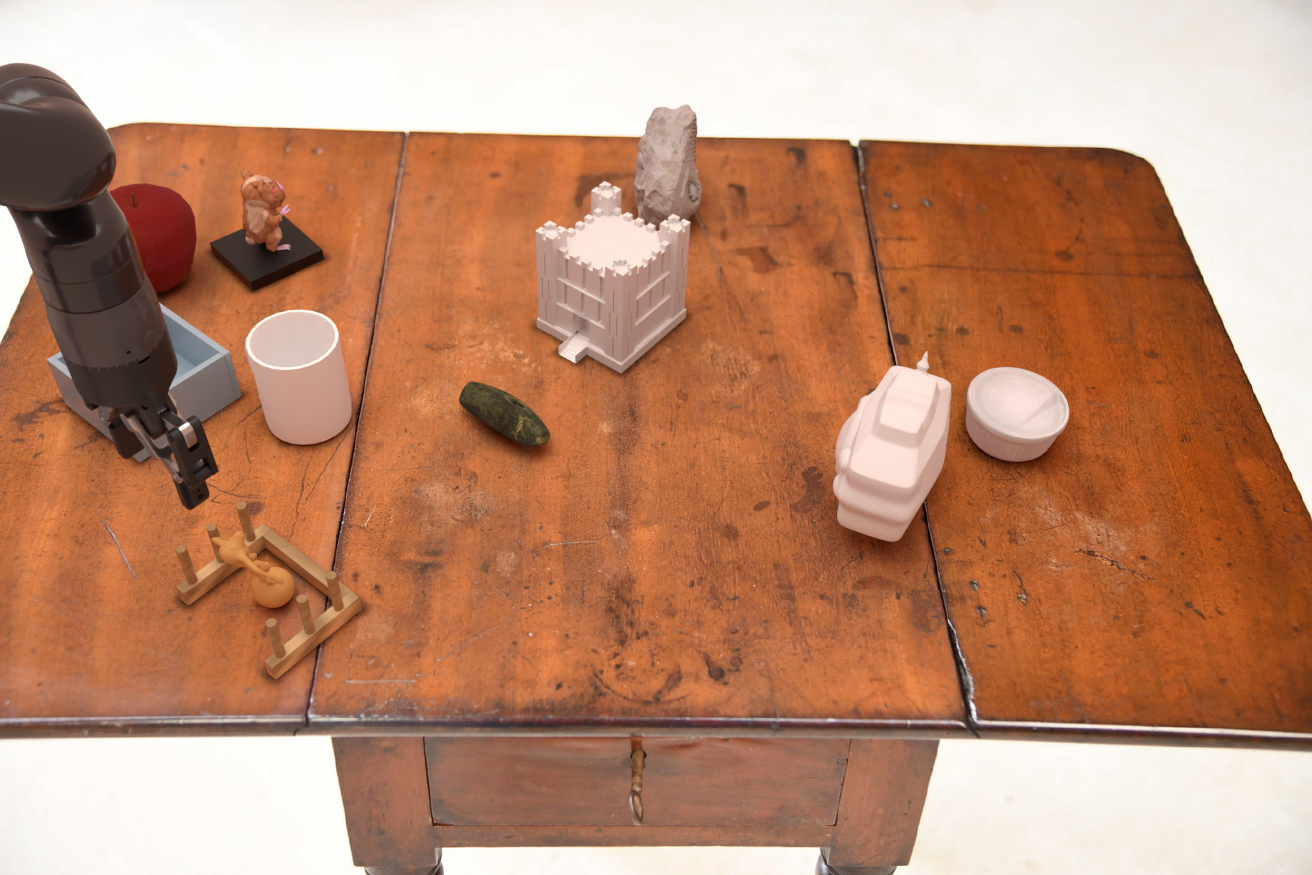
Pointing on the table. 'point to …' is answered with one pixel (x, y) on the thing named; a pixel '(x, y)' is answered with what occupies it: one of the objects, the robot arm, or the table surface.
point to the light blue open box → (195, 387)
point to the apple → (160, 231)
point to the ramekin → (1014, 413)
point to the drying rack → (324, 581)
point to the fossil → (667, 167)
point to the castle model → (611, 282)
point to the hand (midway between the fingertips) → (164, 476)
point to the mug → (300, 376)
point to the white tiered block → (892, 451)
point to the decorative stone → (504, 414)
